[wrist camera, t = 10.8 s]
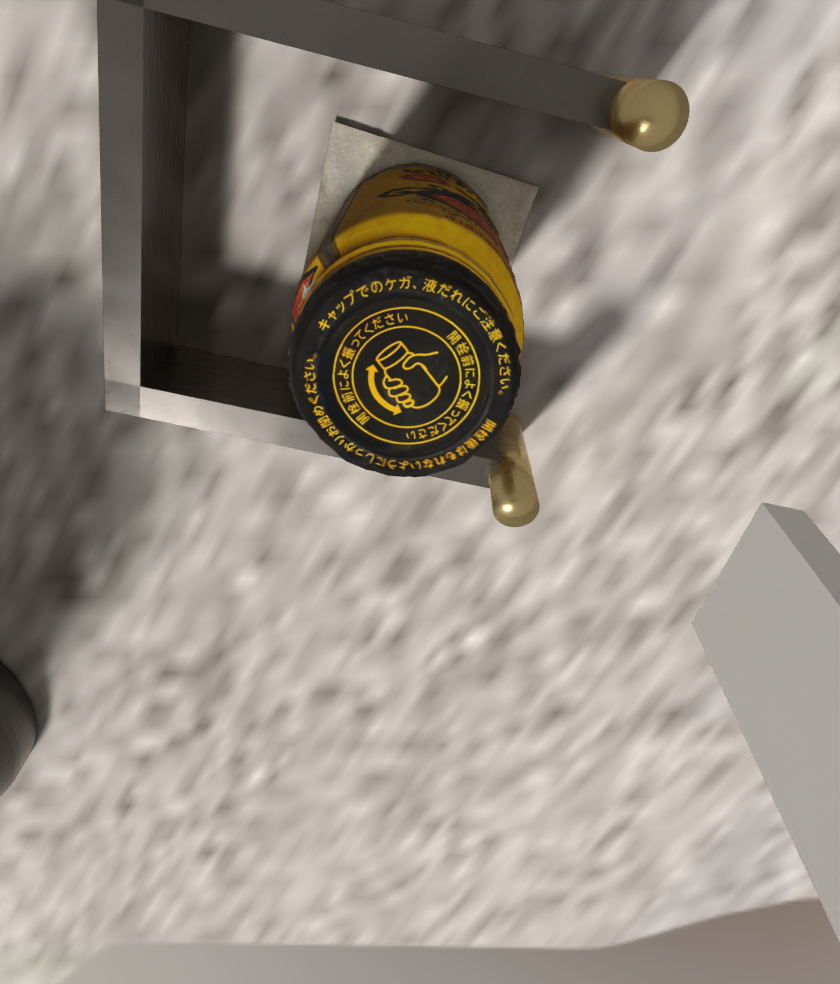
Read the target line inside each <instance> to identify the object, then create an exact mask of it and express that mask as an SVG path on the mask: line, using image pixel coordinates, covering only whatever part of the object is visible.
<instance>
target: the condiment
mask: <svg viewBox="0 0 840 984" xmlns="http://www.w3.org/2000/svg"><path fill="white" fill-rule="evenodd" d="M538 189H539V187H536V186H533V185H530V184H527V183H524V182H521V181H518V180H515V179H512V178H509V177H506V176H503V175H500V174H496V173H493V172H490V171H487V170H484V169H481V168H478V167H475V166H472V165H469V164H466V163H463V162H460V161H456V160H454V159H450V158H447V157H444V156H441V155H438V154H434V153H431V152H428V151H425V150H422V149H419V148H415V147H413V146H409V145H406V144H403V143H400V142H397V141H393V140H390V139H387V138H385V137H380V136H376V135H374V134H371V133H368V132H365V131H361V130H358V129H355V128H352V127H349V126H346V125H343V124H340V123H337V122H334V121H333V122H332V128H331V133H330V138H329V143H328V149H327V154H326V159H325V164H324V170H323V175H322V180H321V185H320V190H319V195H318V201H317V206H316V211H315V216H314V221H313V226H312V232H311V237H310V241H309V246H308V250H307V257H306V261H305V266H304V271H303V275H302V277H301V279H300V282H299V284H298V290H297V292H296V297H295V301H294V307H293V310H292V315H293V317H292V323H291V328H292V332H291V337H290V343H289V348H288V353H287V356H288V358H287V363H288V368H289V371H290V378H289V382H288V383H289V388H290V390H291V391H292V392H293V396H294V400H295V402H296V405H297V407H298V409H299V411H300V413H301V415H302V416H303V418H304V419H305V420H306V422H307V423H308V425H309V426H310V427H311V428H312V429H313V430H314V431H315V432H316V434H317V435H318V437H319V439H321V440H322V441H323V442H324V443H325V444H327V445H328V446H329V447H330V448H331V449H333V450H334V451H335V452H336V453H337V454H338V455H339V456H340V457H341V458H342V459H344V460H345V461H347V462H349V463H352V464H354V465H356V466H359V467H361V468H364V469H366V470H370V471H376V472H379V473H382V474H385V475H389V476H401V477H408V476H410V477H419V476H428V475H431V474H434V473H437V472H441V471H445V470H448V469H451V468H454V467H457V466H460V465H462V464H464V463H465V462H466V461H467V460H469V459H470V458H471V457H472V456H473V455H475V454H476V453H477V452H478V451H480V450H481V449H482V448H483V447H484V446H485V445H486V444H487V443H488V442H490V441H491V440H492V439H494V438H495V437H496V436H497V434H498V433H499V432H500V430H501V428H502V427H503V425H504V423H505V422H506V420H507V418H509V412H510V410H511V408H512V406H513V404H514V399H515V397H516V396H517V393H518V389H519V386H520V376H521V365H520V362H519V359H520V356H521V353H522V346H523V340H524V321H523V311H522V302H521V298H520V293H519V291H518V288H517V285H516V281H515V276H514V274H513V272H512V268H511V264H512V261H513V259H514V256H515V253H516V250H517V247H518V244H519V241H520V238H521V236H522V233H523V230H524V228H525V225H526V221H527V218H528V216H529V213H530V210H531V207H532V205H533V202H534V199H535V196H536V194H537V191H538Z"/></svg>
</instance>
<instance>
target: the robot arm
mask: <svg viewBox="0 0 840 984" xmlns="http://www.w3.org/2000/svg"><path fill="white" fill-rule="evenodd" d="M692 625H693V627H694V629H695V631H696V633H697V635H698V637H699V640H700V642H701V644H702V646H703V648H704V650H705V653H706V655H707V657H708V659H709V661H710V663H711V666H712V668H713V670H714V672H715V674H716V676H717V678H718V681H719V683H720V685H721V687H722V689H723V691H724V694H725V696H726V698H727V700H728V702H729V704H730V707H731V709H732V711H733V713H734V715H735V717H736V720H737V722H738V724H739V726H740V728H741V730H742V732H743V735H744V737H745V739H746V741H747V743H748V745H749V748H750V750H751V752H752V754H753V756H754V758H755V761H756V763H757V765H758V767H759V769H760V771H761V773H762V776H763V778H764V780H765V782H766V784H767V786H768V789H769V791H770V793H771V795H772V797H773V799H774V802H775V804H776V806H777V808H778V810H779V812H780V814H781V817H782V819H783V821H784V823H785V825H786V827H787V830H788V832H789V834H790V836H791V838H792V840H793V843H794V845H795V847H796V849H797V851H798V853H799V856H800V858H801V860H802V862H803V864H804V866H805V868H806V871H807V873H808V875H809V877H810V879H811V881H812V884H813V886H814V888H815V890H816V892H817V894H818V897H819V899H820V901H821V903H822V905H823V907H824V909H825V912H826V914H827V916H828V918H829V920H830V922H831V925H832V927H833V929H834V931H835V933H836V935H837V938H838V940H839V942H840V554H839V553H838V552H837V550H836V549H835V548H834V547H833V545H832V544H831V543H830V542H829V541H828V539H827V538H826V537H825V536H824V535H823V533H822V532H821V531H820V530H819V529H818V527H817V526H816V525H815V524H814V522H813V521H812V520H811V519H810V518H809V516H808V515H807V514H806V513H805V512H804V511H801V510H797V509H792V508H787V507H782V506H777V505H773V504H768V503H763V502H762V503H761V505H760V506H759V508H758V510H757V511H756V513H755V515H754V517H753V518H752V520H751V522H750V524H749V525H748V527H747V529H746V530H745V532H744V534H743V536H742V537H741V539H740V541H739V542H738V544H737V546H736V548H735V549H734V551H733V553H732V554H731V556H730V558H729V560H728V561H727V563H726V565H725V566H724V568H723V570H722V572H721V573H720V575H719V577H718V578H717V580H716V582H715V584H714V585H713V587H712V589H711V590H710V592H709V594H708V596H707V597H706V599H705V601H704V602H703V604H702V606H701V608H700V609H699V611H698V613H697V614H696V616H695V618H694V620H693V621H692ZM35 739H36V720H35V716H34V712H33V709H32V706H31V704H30V702H29V700H28V698H27V696H26V694H25V693H24V691H23V689H22V688H21V687H20V685H19V684H18V682H17V681H16V680H15V679H14V677H13V676H12V675H11V674H10V673H9V672H8V671H7V670H6V669H5V668H4V667H3V666H2V665H1V664H0V797H1V796H2V795H3V794H4V793H5V792H6V790H7V789H8V788H9V787H10V786H11V784H12V783H13V781H14V780H15V778H16V776H17V775H18V773H19V771H20V770H21V768H22V766H23V764H24V763H25V761H26V759H27V758H28V756H29V754H30V752H31V750H32V748H33V746H34V743H35Z"/></svg>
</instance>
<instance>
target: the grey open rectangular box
mask: <svg viewBox="0 0 840 984" xmlns="http://www.w3.org/2000/svg"><path fill="white" fill-rule="evenodd" d="M189 20H192V21H196V22H200V23H204V24H207V25H211V26H215V27H219V28H223V29H226V30H230V31H234V32H238V33H242V34H245V35H249V36H253V37H257V38H261V39H264V40H268V41H272V42H276V43H280V44H283V45H287V46H291V47H295V48H299V49H303V50H306V51H310V52H314V53H318V54H322V55H325V56H329V57H333V58H337V59H341V60H344V61H348V62H352V63H356V64H360V65H363V66H367V67H371V68H375V69H379V70H382V71H386V72H390V73H394V74H398V75H401V76H405V77H409V78H413V79H417V80H420V81H424V82H428V83H432V84H436V85H439V86H443V87H447V88H451V89H455V90H458V91H462V92H466V93H470V94H474V95H477V96H481V97H485V98H489V99H493V100H497V101H500V102H504V103H508V104H512V105H516V106H519V107H523V108H527V109H531V110H535V111H538V112H542V113H546V114H550V115H554V116H557V117H561V118H565V119H569V120H573V121H576V122H580V123H584V124H588V125H590V126H591V127H592V128H594V129H595V130H598V131H600V132H602V133H604V134H607V135H609V136H611V137H613V138H616V139H618V140H620V141H622V142H625V143H627V144H629V145H631V146H633V147H636V148H638V149H640V150H643V151H647V152H657V151H661V150H663V149H666V148H667V147H669V146H671V145H672V144H673V143H674V142H675V141H677V139H678V138H679V137H680V136H681V134H682V133H683V131H684V129H685V127H686V125H687V122H688V118H689V102H688V98H687V96H686V94H685V92H684V91H683V89H682V88H681V87H680V86H678V85H677V84H675V83H674V82H671V81H666V80H657V79H646V78H636V77H626V76H615V75H607V76H602V75H598V74H595V73H591V72H587V71H584V70H580V69H576V68H572V67H569V66H565V65H561V64H558V63H554V62H550V61H547V60H543V59H539V58H536V57H532V56H528V55H525V54H521V53H517V52H513V51H510V50H506V49H502V48H499V47H495V46H491V45H488V44H484V43H480V42H477V41H473V40H469V39H465V38H462V37H458V36H454V35H451V34H447V33H443V32H440V31H436V30H432V29H429V28H425V27H421V26H418V25H414V24H410V23H406V22H403V21H399V20H395V19H392V18H388V17H384V16H381V15H377V14H373V13H370V12H366V11H362V10H358V9H355V8H351V7H347V6H344V5H340V4H336V3H333V2H329V1H325V0H97V27H98V77H99V126H100V176H101V226H102V275H103V325H104V374H105V410H108V411H113V412H118V413H123V414H128V415H133V416H138V417H143V418H147V419H152V420H157V421H162V422H167V423H172V424H177V425H182V426H187V427H192V428H197V429H201V430H206V431H211V432H216V433H221V434H226V435H231V436H236V437H241V438H246V439H251V440H255V441H260V442H265V443H270V444H275V445H280V446H285V447H290V448H295V449H300V450H304V451H309V452H314V453H319V454H324V455H329V456H334V457H339V458H341V457H340V456H339V455H338V454H337V453H336V452H335V451H334V450H333V449H331V448H330V447H329V446H328V445H327V444H325V443H324V442H323V441H322V440H321V439H319V437H318V435H317V434H316V432H315V431H314V430H313V429H312V428H311V427H310V426H309V425H308V423H307V422H306V420H305V419H304V418H303V416H302V415H301V413H300V411H299V409H298V407H297V405H296V402H295V400H294V396H293V392H292V391H291V390H290V388H289V383H288V382H289V378H290V371H289V370H288V369H283V368H278V367H274V366H269V365H265V364H260V363H255V362H251V361H246V360H241V359H237V358H232V357H227V356H223V355H218V354H213V353H209V352H204V351H199V350H195V349H190V348H186V347H181V346H177V326H178V300H179V274H180V249H181V223H182V197H183V171H184V145H185V119H186V93H187V68H188V42H189ZM428 476H432V477H437V478H442V479H447V480H452V481H457V482H461V483H466V484H471V485H476V486H481V487H486V488H490V491H491V499H492V507H493V513H494V516H495V518H496V519H497V520H498V521H499V522H500V523H502V524H504V525H506V526H509V527H520V526H524V525H526V524H528V523H530V522H531V521H533V520H534V519H535V517H536V516H537V514H538V512H539V501H538V496H537V492H536V488H535V483H534V479H533V475H532V471H531V466H530V462H529V458H528V453H527V449H526V445H525V441H524V436H523V432H522V428H521V424H520V421H519V419H518V418H517V417H516V416H515V415H513V414H511V413H509V418H507V420H506V422H505V423H504V425H503V427H502V428H501V430H500V432H499V433H498V434H497V436H496V437H495V438H494V439H492V440H491V441H490V442H488V443H487V444H486V445H485V446H484V447H483V448H482V449H481V450H480V451H478V452H477V453H476V454H475V455H473V456H472V457H471V458H470V459H469V460H467V461H466V462H465V463H464V464H462V465H460V466H457V467H454V468H451V469H448V470H445V471H441V472H437V473H434V474H431V475H428Z"/></svg>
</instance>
